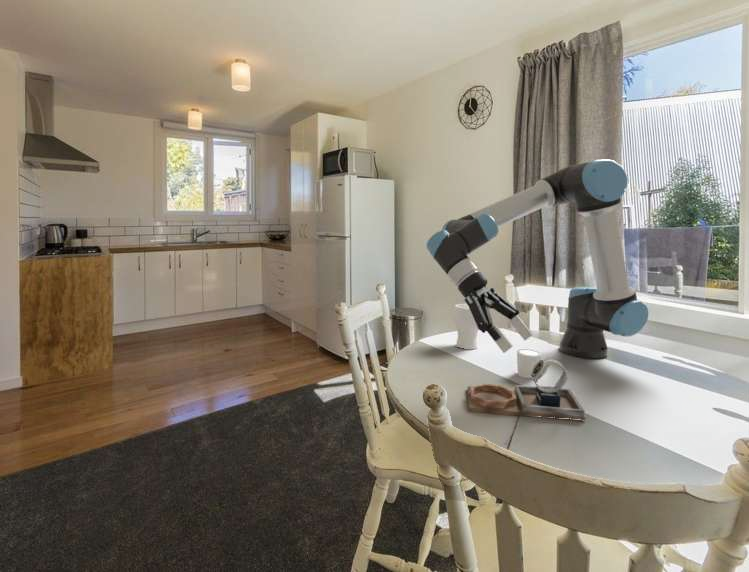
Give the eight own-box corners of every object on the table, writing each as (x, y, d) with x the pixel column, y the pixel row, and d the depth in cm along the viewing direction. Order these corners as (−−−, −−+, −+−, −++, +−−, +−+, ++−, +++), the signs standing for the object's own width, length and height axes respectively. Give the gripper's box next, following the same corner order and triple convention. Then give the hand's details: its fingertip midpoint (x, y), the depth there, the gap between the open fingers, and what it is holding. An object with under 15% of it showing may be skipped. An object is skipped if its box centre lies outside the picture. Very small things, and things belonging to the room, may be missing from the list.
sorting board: (569, 398, 108) (570, 388, 107) (584, 421, 95) (585, 411, 95) (467, 389, 112) (467, 381, 112) (469, 411, 100) (469, 401, 99)
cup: (485, 351, 146) (487, 309, 143) (454, 350, 146) (456, 309, 143) (478, 342, 156) (480, 303, 154) (450, 342, 156) (451, 303, 154)
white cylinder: (537, 381, 119) (539, 357, 118) (512, 376, 122) (514, 353, 121) (541, 373, 125) (543, 351, 124) (518, 369, 128) (519, 347, 127)
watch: (527, 397, 106) (530, 355, 104) (560, 399, 104) (564, 357, 103) (532, 406, 100) (535, 363, 98) (567, 409, 99) (571, 365, 97)
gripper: (479, 282, 124) (526, 340, 116) (434, 293, 105) (487, 363, 98) (497, 266, 119) (547, 325, 112) (453, 275, 101) (510, 346, 93)
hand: (519, 343), depth 105 cm, fingers open, 13 cm apart
